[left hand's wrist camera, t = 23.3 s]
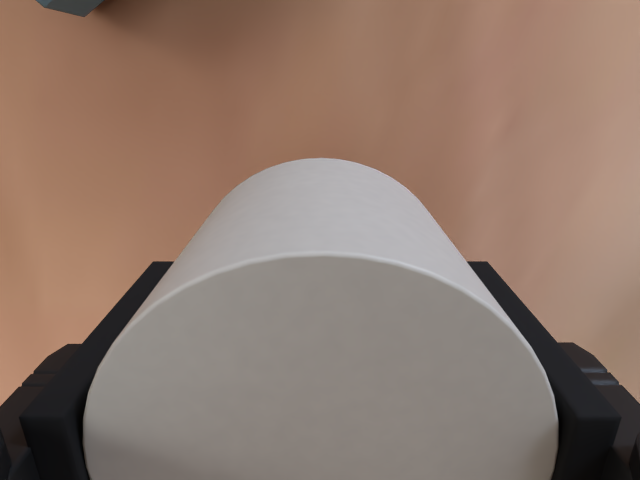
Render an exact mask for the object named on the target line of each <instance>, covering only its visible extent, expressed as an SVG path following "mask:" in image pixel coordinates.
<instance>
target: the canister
mask: <svg viewBox="0 0 640 480" xmlns="http://www.w3.org/2000/svg"><path fill="white" fill-rule="evenodd" d="M558 425H559V423H558V416H557V410H556V404H555V399H554V394H553V391H552V389H551V386H550V383H549V380H548V378H547V375H546V372H545V370H544V368H543V366H542V365H541V363H540V361H539V359H538V358H537V356H536V354H535V352H534V351H533V349H532V347H531V346H530V345H529V343H528V342H527V341H526V339H525V338H524V337H523V335H522V334H521V333H520V331H519V330H518V329H517V327H516V326H515V325H514V324H513V322H512V321H511V320H510V318H509V317H508V316H507V314H506V313H505V312H504V310H503V309H502V308H501V306H500V305H499V304H498V302H497V301H496V300H495V299H494V297H493V296H492V295H491V293H490V292H489V291H488V289H487V288H486V287H485V285H484V284H483V283H482V281H481V280H480V279H479V277H478V276H477V275H476V274H475V272H474V271H473V270H472V268H471V267H470V266H469V264H468V263H467V262H466V260H465V259H464V258H463V256H462V255H461V254H460V252H459V251H458V250H457V249H456V247H455V246H454V245H453V243H452V242H451V241H450V239H449V238H448V237H447V235H446V234H445V233H444V231H443V230H442V229H441V227H440V226H439V225H438V224H437V222H436V221H435V220H434V218H433V217H432V216H431V214H430V213H429V212H428V210H427V209H426V208H425V207H424V206H423V204H422V203H421V202H420V201H419V199H418V198H417V197H416V196H414V195H413V194H412V193H411V192H410V191H409V190H408V189H407V188H406V187H404V186H403V185H402V184H400V183H399V182H397V181H396V180H394V179H393V178H392V177H390V176H388V175H386V174H384V173H382V172H380V171H378V170H376V169H374V168H371V167H368V166H365V165H362V164H359V163H355V162H351V161H346V160H341V159H330V158H311V159H300V160H295V161H290V162H285V163H282V164H279V165H276V166H273V167H270V168H267V169H265V170H263V171H261V172H259V173H257V174H255V175H253V176H251V177H249V178H248V179H246V180H245V181H243V182H242V183H240V184H239V185H237V186H236V187H235V188H234V189H233V190H232V191H231V192H229V193H228V194H227V195H226V196H225V197H224V198H223V199H222V200H221V202H220V203H219V204H218V205H217V206H216V208H215V209H214V210H213V211H212V213H211V214H210V215H209V216H208V218H207V219H206V220H205V222H204V223H203V224H202V226H201V227H200V228H199V230H198V231H197V232H196V234H195V235H194V236H193V238H192V239H191V240H190V242H189V243H188V244H187V246H186V247H185V248H184V250H183V251H182V252H181V254H180V255H179V256H178V258H177V259H176V260H175V261H174V263H173V264H172V265H171V267H170V268H169V269H168V271H167V272H166V273H165V275H164V276H163V277H162V279H161V280H160V281H159V283H158V284H157V285H156V287H155V288H154V289H153V291H152V292H151V293H150V295H149V296H148V297H147V299H146V300H145V301H144V303H143V304H142V305H141V306H140V308H139V309H138V310H137V312H136V313H135V314H134V316H133V317H132V318H131V320H130V321H129V322H128V324H127V325H126V326H125V328H124V329H123V330H122V332H121V333H120V334H119V336H118V337H117V338H116V340H115V341H114V342H113V344H112V345H111V347H110V348H109V350H108V352H107V353H106V355H105V357H104V358H103V360H102V362H101V363H100V365H99V367H98V369H97V371H96V374H95V376H94V379H93V381H92V384H91V387H90V389H89V392H88V396H87V401H86V406H85V411H84V416H83V449H84V456H85V463H86V468H87V471H88V474H89V477H90V480H551V478H552V475H553V473H554V469H555V463H556V458H557V452H558Z"/></svg>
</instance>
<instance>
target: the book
mask: <svg viewBox="0 0 640 480" xmlns="http://www.w3.org/2000/svg"><path fill="white" fill-rule="evenodd" d="M36 1H37V2H38V3H40V4H41V5H42V6H43V7H44V8H49V9H53V10H57V11H61V12H65V13H69V14H74V15H78V16H82V17H85V16H86V15H87V14H89V13H90V12H91V11H92V10H93V9H94V8H96V7H97V6H98V5H99V4H100V3H102V2H103V1H104V0H36Z"/></svg>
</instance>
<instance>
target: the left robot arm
mask: <svg viewBox="0 0 640 480" xmlns="http://www.w3.org/2000/svg"><path fill="white" fill-rule="evenodd" d="M173 263H174V262H152V264H151V265H150V266H149V267H148V268H147V269H146V270H145V272H144V273H143V274H142V275H141V276H140V277H139V279H138V280H137V281H136V282H135V283H134V284H133V285H132V287H131V288H130V289H129V290H128V291H127V292H126V294H125V295H124V296H123V297H122V298H121V299H120V300H119V302H118V303H117V304H116V305H115V306H114V307H113V309H112V310H111V311H110V312H109V313H108V314H107V315H106V317H105V318H104V319H103V320H102V321H101V322H100V324H99V325H98V326H97V327H96V328H95V329H94V330H93V332H92V333H91V334H90V335H89V336H88V337H87V339H86V340H85V341H84V342H83V343H82V344H67V345H65V346H64V347H62V348H61V349H59V350H57V351H56V352H54V353H52V354H51V355H49V356H48V357H47V358H46V359H45V360H44V361H43V362H42V363H41V364H40V365H39V366H38V367H37V368H36V369H35V370H34V373H33V374H31V375H30V376H29V377H28V378H27V379H26V380H25V381H24V382H23V383H22V386H21V387H18V388H17V389H16V390H15V391H14V393H13V394H12V395H11V396H10V397H9V398H8V399H7V400H6V401H5V402H4V403H3V404H2V405H1V406H0V480H90V477H89V474H88V471H87V468H86V463H85V456H84V449H83V416H84V411H85V406H86V401H87V396H88V392H89V389H90V387H91V384H92V381H93V379H94V376H95V374H96V371H97V369H98V367H99V365H100V363H101V362H102V360H103V358H104V357H105V355H106V353H107V352H108V350H109V348H110V347H111V345H112V344H113V342H114V341H115V340H116V338H117V337H118V336H119V334H120V333H121V332H122V330H123V329H124V328H125V326H126V325H127V324H128V322H129V321H130V320H131V318H132V317H133V316H134V314H135V313H136V312H137V310H138V309H139V308H140V306H141V305H142V304H143V303H144V301H145V300H146V299H147V297H148V296H149V295H150V293H151V292H152V291H153V289H154V288H155V287H156V285H157V284H158V283H159V281H160V280H161V279H162V277H163V276H164V275H165V273H166V272H167V271H168V269H169V268H170V267H171V265H172V264H173ZM467 263H468V264H469V266H470V267H471V268H472V270H473V271H474V272H475V274H476V275H477V276H478V277H479V279H480V280H481V281H482V283H483V284H484V285H485V287H486V288H487V289H488V291H489V292H490V293H491V295H492V296H493V297H494V299H495V300H496V301H497V302H498V304H499V305H500V306H501V308H502V309H503V310H504V312H505V313H506V314H507V316H508V317H509V318H510V320H511V321H512V322H513V324H514V325H515V326H516V327H517V329H518V330H519V331H520V333H521V334H522V335H523V337H524V338H525V339H526V341H527V342H528V343H529V345H530V346H531V347H532V349H533V351H534V352H535V354H536V356H537V358H538V359H539V361H540V363H541V365H542V366H543V368H544V370H545V372H546V375H547V378H548V380H549V383H550V386H551V389H552V391H553V394H554V399H555V404H556V410H557V416H558V423H559V425H558V452H557V458H556V463H555V469H554V473H553V475H552V478H551V480H640V404H639V403H638V402H637V401H636V400H635V398H634V397H633V396H632V395H631V394H630V393H629V392H628V391H627V390H626V389H625V388H624V387H623V386H622V385H619V382H618V381H617V380H616V379H615V377H614V376H613V375H612V374H611V373H608V372H607V369H606V368H605V367H604V366H603V365H602V364H601V363H600V362H599V361H598V360H597V359H596V358H595V357H594V355H592V354H591V353H589V352H587V351H586V350H584V349H582V348H581V347H579V346H578V345H576V344H574V343H557V342H556V340H555V339H554V338H553V337H552V336H551V335H550V334H549V332H548V331H547V330H546V329H545V328H544V327H543V325H542V324H541V323H540V322H539V321H538V320H537V319H536V317H535V316H534V315H533V314H532V313H531V312H530V310H529V309H528V308H527V307H526V306H525V305H524V304H523V302H522V301H521V300H520V299H519V298H518V297H517V295H516V294H515V293H514V292H513V291H512V290H511V289H510V287H509V286H508V285H507V284H506V283H505V282H504V280H503V279H502V278H501V277H500V276H499V275H498V274H497V272H496V271H495V270H494V269H493V268H492V267H491V265H490V264H489V263H488V262H467Z"/></svg>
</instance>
